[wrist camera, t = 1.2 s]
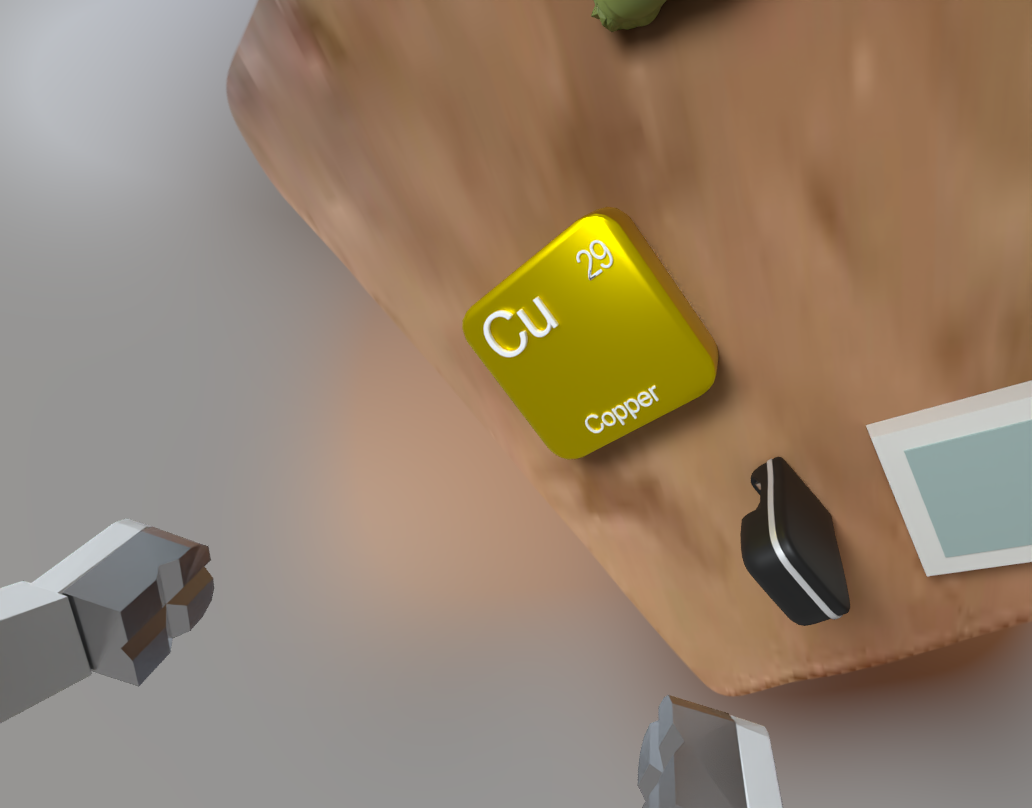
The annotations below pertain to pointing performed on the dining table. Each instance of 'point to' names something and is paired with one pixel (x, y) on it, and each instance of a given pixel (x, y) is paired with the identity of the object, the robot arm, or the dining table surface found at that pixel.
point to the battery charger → (793, 547)
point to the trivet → (964, 479)
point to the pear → (626, 13)
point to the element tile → (592, 336)
